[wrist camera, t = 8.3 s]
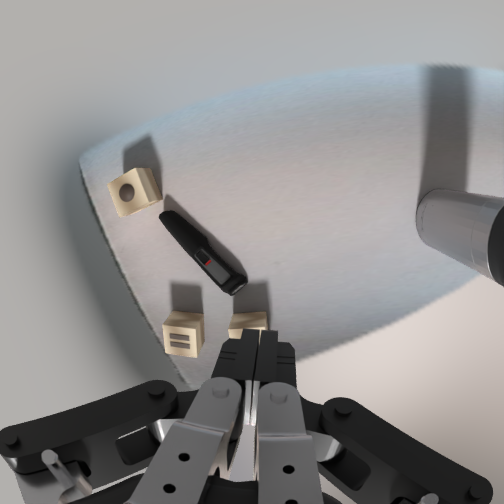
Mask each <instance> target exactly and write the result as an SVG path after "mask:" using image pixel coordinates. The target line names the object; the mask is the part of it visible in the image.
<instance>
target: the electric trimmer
mask: <svg viewBox="0 0 504 504" xmlns="http://www.w3.org/2000/svg"><path fill="white" fill-rule="evenodd" d="M159 219H160V220H161V222H162V223H163V225H164V226H165V227H166V229H167V230H168V231H169V232H170V233H171V235H172V236H173V237H174V238H175V239H176V240H177V242H178V243H179V244H180V245H181V246H182V247H183V249H184V250H185V251H186V252H187V253H188V254H189V255H190V256H191V257H192V258H193V259H194V260H195V261H196V262H197V263H198V265H199V266H200V267H201V268H202V269H203V270H204V271H205V272H206V274H207V275H208V276H209V277H210V278H211V279H212V280H213V281H214V282H215V283H216V284H217V285H218V286H219V287H220V288H221V290H222V291H223V292H225V293H228V294H229V295H230V296H233V295H234V294H235V293H236V292H238V291H239V290H240V289H241V288H242V287H243V286H244V285H246V284H247V283H248V281H247V280H246V277H245V276H244V275H241V274H238V273H236V272H235V271H234V270H233V269H232V268H231V267H229V266H228V265H227V264H226V263H225V262H224V261H223V260H222V259H221V258H220V257H219V256H218V255H217V254H216V252H215V251H214V250H213V249H212V248H211V247H210V245H209V243H208V240H207V238H206V237H205V236H204V235H203V234H201V233H200V232H199V231H198V230H197V229H195V228H194V227H193V226H192V225H191V224H189V223H188V222H187V221H186V220H184V219H183V218H182V217H181V216H180V215H178V214H177V213H176V212H174V211H172V210H170V211H164V212H162V213H161V214H160V215H159Z"/></svg>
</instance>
